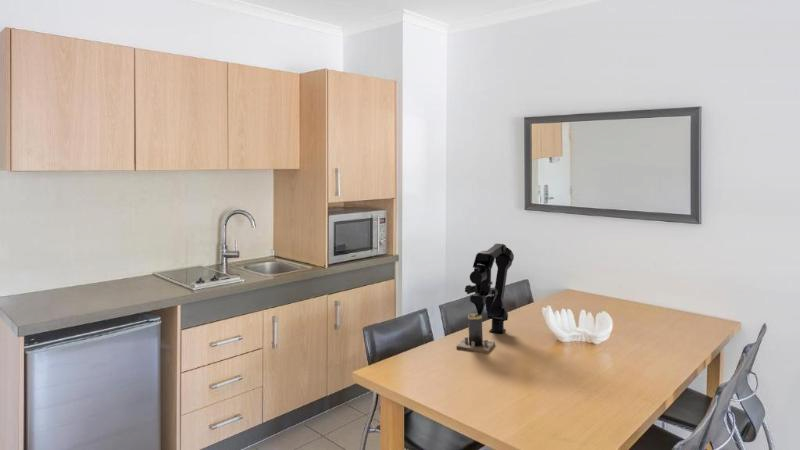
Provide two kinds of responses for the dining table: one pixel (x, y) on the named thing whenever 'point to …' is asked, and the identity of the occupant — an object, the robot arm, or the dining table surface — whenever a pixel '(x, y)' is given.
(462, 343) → the peg board
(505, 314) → the robot arm
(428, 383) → the dining table surface
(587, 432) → the dining table surface
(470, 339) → the tea tin
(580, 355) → the dining table surface
